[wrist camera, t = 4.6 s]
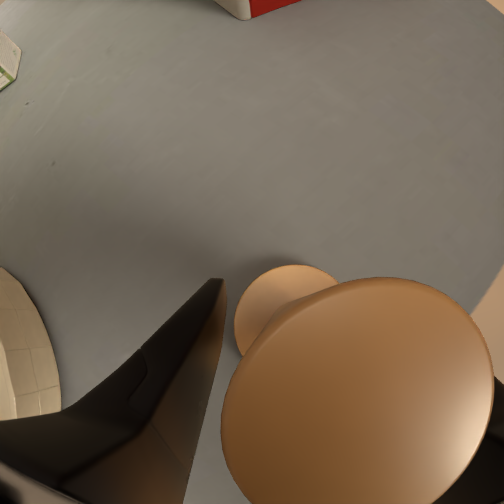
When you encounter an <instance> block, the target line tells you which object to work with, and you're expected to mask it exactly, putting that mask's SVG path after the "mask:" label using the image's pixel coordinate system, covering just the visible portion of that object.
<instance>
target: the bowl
mask: <svg viewBox="0 0 504 504" xmlns="http://www.w3.org/2000/svg"><path fill="white" fill-rule="evenodd" d="M58 411H61V388H60V381H59V374H58V369H57V364H56V360H55V356H54V352H53V349H52V345H51V342H50V339H49V337H48V334H47V331H46V328H45V326H44V324H43V321H42V319H41V317H40V315H39V313H38V311H37V309H36V307H35V306H34V304H33V302H32V301H31V299H30V298H29V296H28V295H27V293H26V291H25V290H24V288H23V287H22V285H21V283H20V282H19V281H17V280H16V279H15V278H14V277H13V276H11V275H10V274H9V273H8V272H7V271H6V270H4V269H3V268H1V267H0V420H9V419H17V418H24V417H31V416H37V415H43V414H49V413H54V412H58Z"/></svg>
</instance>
